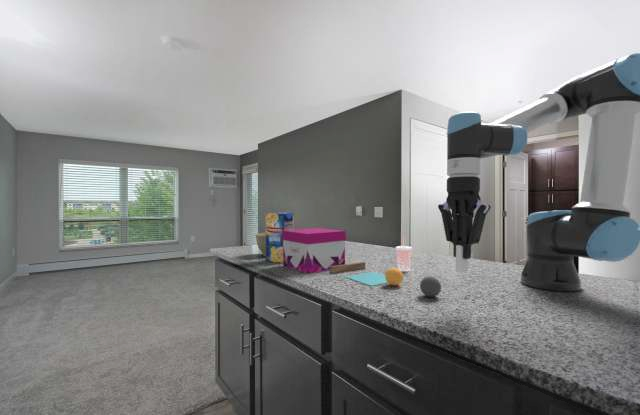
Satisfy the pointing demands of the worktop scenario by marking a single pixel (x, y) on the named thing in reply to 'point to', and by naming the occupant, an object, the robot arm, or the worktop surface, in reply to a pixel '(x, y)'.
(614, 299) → the worktop surface
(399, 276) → the orange ball
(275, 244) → the beverage box
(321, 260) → the decorative box
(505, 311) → the worktop surface
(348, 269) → the wall
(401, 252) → the beverage cup
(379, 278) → the teal mark
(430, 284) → the gray ball
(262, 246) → the planter bowl
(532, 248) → the robot arm
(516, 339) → the worktop surface
